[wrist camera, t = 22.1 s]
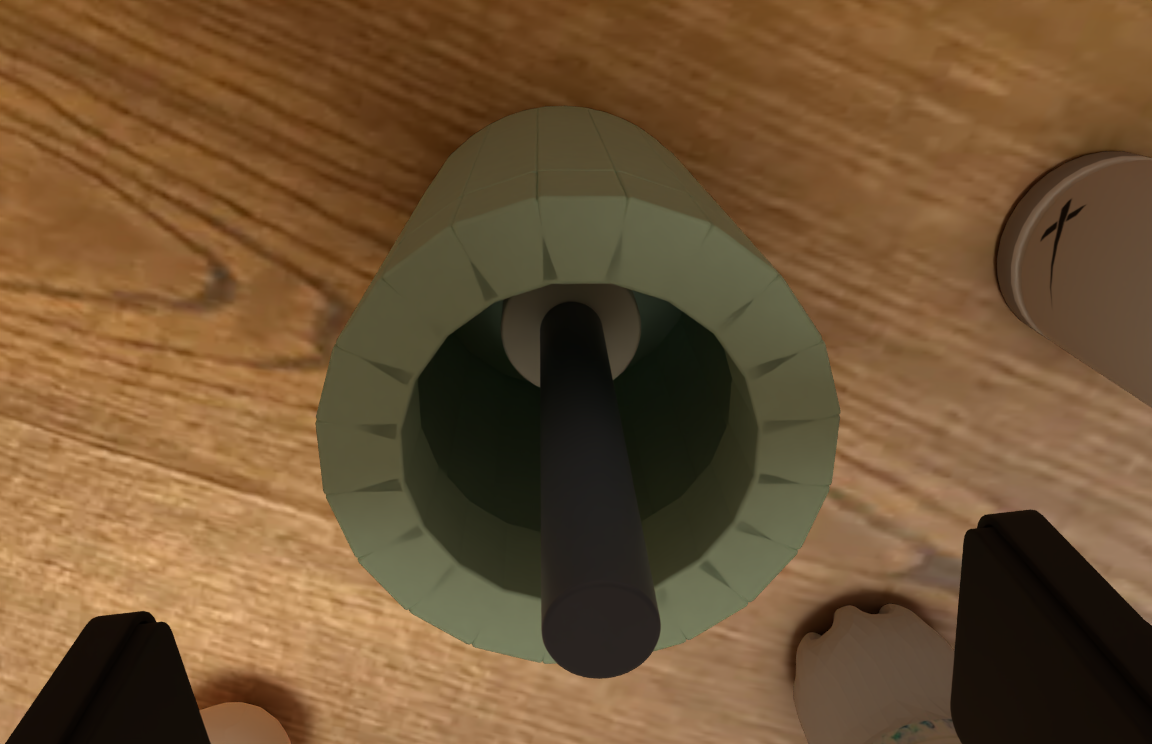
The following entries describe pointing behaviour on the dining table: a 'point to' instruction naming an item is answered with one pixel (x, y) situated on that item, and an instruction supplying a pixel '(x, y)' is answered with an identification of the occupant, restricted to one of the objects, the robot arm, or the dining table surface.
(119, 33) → the dining table surface
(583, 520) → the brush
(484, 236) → the cup
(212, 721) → the egg
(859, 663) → the bottle
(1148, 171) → the travel mug
